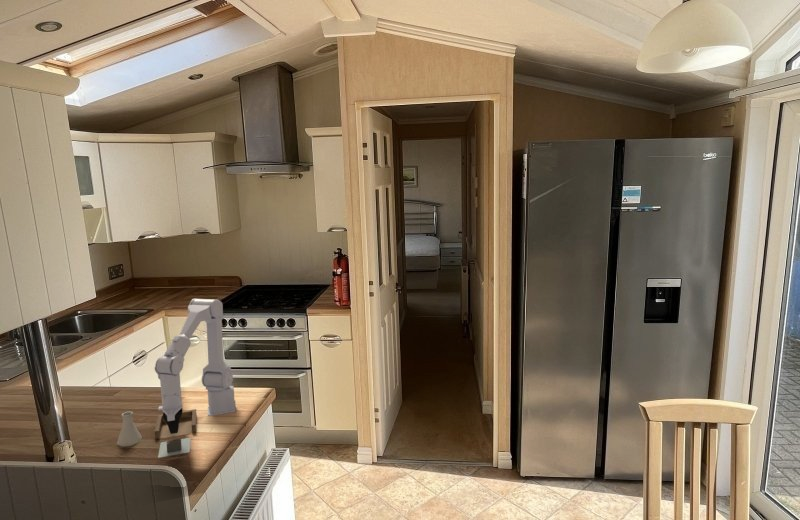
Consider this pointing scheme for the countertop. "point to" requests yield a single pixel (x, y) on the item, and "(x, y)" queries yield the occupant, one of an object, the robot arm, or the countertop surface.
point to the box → (185, 425)
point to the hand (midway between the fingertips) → (174, 432)
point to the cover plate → (184, 448)
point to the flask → (128, 431)
